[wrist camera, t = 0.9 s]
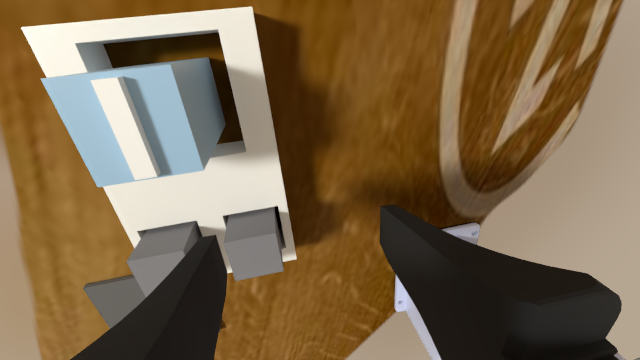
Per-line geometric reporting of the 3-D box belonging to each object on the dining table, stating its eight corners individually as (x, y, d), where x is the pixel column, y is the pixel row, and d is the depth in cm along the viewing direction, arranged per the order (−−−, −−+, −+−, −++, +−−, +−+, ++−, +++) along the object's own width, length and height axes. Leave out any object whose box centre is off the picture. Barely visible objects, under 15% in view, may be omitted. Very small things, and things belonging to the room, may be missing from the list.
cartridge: (225, 124, 18) (202, 174, 11) (160, 133, 17) (91, 192, 10) (208, 57, 16) (166, 64, 9) (135, 65, 15) (31, 79, 8)
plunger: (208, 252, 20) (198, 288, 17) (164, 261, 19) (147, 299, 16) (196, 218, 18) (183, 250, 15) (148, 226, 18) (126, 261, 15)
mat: (220, 327, 25) (220, 331, 25) (128, 348, 24) (126, 353, 24) (194, 262, 22) (193, 266, 21) (85, 284, 21) (82, 288, 21)
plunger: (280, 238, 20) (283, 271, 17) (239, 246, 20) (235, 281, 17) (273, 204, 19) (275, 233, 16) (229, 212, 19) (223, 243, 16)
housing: (293, 238, 23) (296, 259, 20) (166, 263, 21) (155, 288, 19) (253, 12, 15) (251, 6, 13) (58, 30, 14) (20, 27, 12)
